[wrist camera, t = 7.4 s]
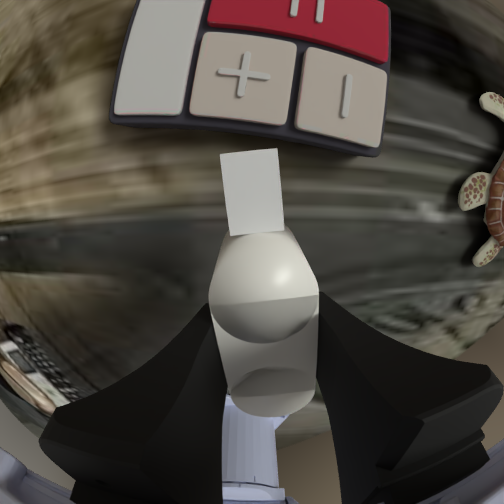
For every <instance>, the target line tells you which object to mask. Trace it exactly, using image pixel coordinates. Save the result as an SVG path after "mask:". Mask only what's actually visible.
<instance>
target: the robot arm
mask: <svg viewBox="0 0 504 504" xmlns="http://www.w3.org/2000/svg"><path fill="white" fill-rule="evenodd" d="M316 378H317V381H318V384H319V387H320V390H321V393H322V396H323V399H324V402H325V405H326V408H327V412H328V415H329V420H330V425H331V430H332V435H333V441H334V447H335V452H336V458H337V465H338V473H339V480H340V489H341V498H342V504H504V439H503V440H501V441H500V442H499V443H497V444H496V445H494V446H493V447H492V448H490V449H489V450H487V451H486V450H485V449H484V447H483V445H482V443H481V441H482V440H483V439H484V438H485V435H484V433H483V431H482V430H481V427H482V426H483V424H484V423H485V422H486V420H487V419H488V418H489V416H490V415H491V414H492V412H493V411H494V410H495V408H496V407H497V405H498V403H499V402H500V400H501V397H502V395H503V385H502V383H501V382H500V381H499V379H498V378H497V377H496V376H495V374H494V373H493V372H492V371H491V369H490V368H489V367H488V366H487V365H483V364H476V363H469V362H462V361H456V360H452V359H448V358H444V357H440V356H436V355H433V354H430V353H426V352H423V351H421V350H418V349H415V348H413V347H410V346H408V345H405V344H403V343H401V342H398V341H396V340H394V339H392V338H390V337H388V336H386V335H384V334H382V333H381V332H379V331H377V330H375V329H374V328H372V327H370V326H369V325H367V324H366V323H364V322H362V321H361V320H359V319H358V318H356V317H355V316H354V315H352V314H351V313H349V312H348V311H347V310H345V309H344V308H343V307H341V306H340V305H339V304H337V303H336V302H335V301H333V300H332V299H331V298H330V297H328V296H327V295H326V294H324V293H323V292H319V316H318V347H317V367H316ZM227 387H228V384H227V380H226V376H225V372H224V368H223V364H222V360H221V356H220V351H219V347H218V343H217V338H216V334H215V330H214V325H213V321H212V316H211V311H210V307H209V303H206V304H205V305H204V306H203V307H202V308H201V309H200V311H199V312H198V313H197V314H196V315H195V316H194V317H193V319H192V320H191V321H190V322H189V323H188V324H187V325H186V326H185V328H184V329H183V330H182V331H181V332H180V333H179V334H178V335H177V336H176V337H175V338H174V339H173V340H172V341H171V342H170V343H169V344H168V345H167V346H166V347H165V348H164V349H162V350H161V351H160V352H159V353H158V354H157V355H155V356H154V357H153V358H152V359H150V360H149V361H148V362H147V363H145V364H144V365H143V366H141V367H140V368H138V369H137V370H135V371H134V372H132V373H131V374H129V375H128V376H126V377H124V378H123V379H121V380H120V381H118V382H116V383H114V384H113V385H111V386H109V387H107V388H105V389H103V390H101V391H99V392H97V393H95V394H92V395H90V396H88V397H85V398H83V399H80V400H77V401H75V402H72V403H69V404H66V405H63V406H60V407H57V408H56V409H55V411H54V413H53V414H52V416H51V418H50V420H49V422H48V424H47V425H46V427H45V429H44V431H43V433H42V435H41V437H40V439H39V444H40V447H41V449H42V450H43V452H44V453H45V454H46V455H47V456H48V457H49V458H50V459H51V460H52V461H53V462H54V463H55V464H56V465H58V466H59V467H60V468H61V469H62V470H64V471H65V472H66V473H67V474H68V475H70V476H71V477H72V478H74V479H75V480H76V482H75V484H74V487H73V490H72V491H71V490H69V489H67V488H64V487H62V486H60V485H58V484H56V483H54V482H52V481H50V480H48V479H46V478H43V477H42V476H40V475H38V474H36V473H34V472H32V471H30V470H29V469H27V468H26V466H25V465H24V464H22V463H21V462H20V461H19V460H18V459H17V458H15V457H14V456H13V455H11V454H10V453H8V452H7V451H5V450H4V449H2V448H1V447H0V504H299V503H298V502H297V501H295V500H294V499H293V498H292V497H290V496H288V497H285V493H284V488H279V483H278V470H277V457H276V444H275V432H274V430H275V429H276V428H277V427H278V426H279V425H280V424H281V423H282V422H283V421H284V420H285V419H286V418H287V417H288V416H289V415H290V414H288V415H285V416H280V417H258V416H253V415H250V414H247V413H245V412H243V411H242V410H240V409H239V408H237V407H236V406H235V404H234V403H233V401H232V399H231V396H230V395H227Z"/></svg>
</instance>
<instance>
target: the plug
mask: <svg viewBox="0 0 504 504" xmlns="http://www.w3.org/2000/svg"><path fill="white" fill-rule="evenodd" d="M220 160H221V169H222V177H223V185H224V193H225V200H226V208H227V216H228V223H229V230H228V232H227V233H226V235H225V237H224V239H223V242H222V245H221V248H220V252H219V255H218V259H217V263H216V266H215V270H214V273H213V277H212V281H211V284H210V289H209V307H210V311H211V316H212V321H213V325H214V330H215V334H216V338H217V343H218V347H219V351H220V356H221V360H222V364H223V368H224V372H225V376H226V380H227V384H228V388H229V392H230V396H231V399H232V401H233V403H234V404H235V406H236V407H237V408H239V409H240V410H242V411H243V412H245V413H247V414H250V415H253V416H258V417H280V416H285V415H288V414H291V413H294V412H296V411H298V410H300V409H301V408H303V407H304V406H306V405H307V404H308V403H309V402H310V400H311V399H312V397H313V395H314V392H315V383H316V367H317V347H318V316H319V290H318V284H317V281H316V278H315V276H314V274H313V272H312V270H311V268H310V266H309V264H308V262H307V260H306V258H305V256H304V254H303V252H302V250H301V248H300V246H299V244H298V243H297V241H296V239H295V237H294V235H293V233H292V232H291V230H290V229H289V228H288V227H287V226H286V225H285V224H284V218H283V206H282V194H281V182H280V171H279V161H278V151H277V148H274V149H263V150H252V151H243V152H234V153H226V154H220Z"/></svg>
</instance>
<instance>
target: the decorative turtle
mask: <svg viewBox="0 0 504 504" xmlns="http://www.w3.org/2000/svg"><path fill="white" fill-rule="evenodd" d="M479 102H480V106H481V108H482V109H483V110H485V111H487V112H490V113H492V114H494V115H496V116H497V117H498V118H500V119H501V120H502V121H503V122H504V98H503V97H501V96H499V95H497V94H495V93H492V92H487V93H484V94H483V95H482V96H481V97H480V99H479ZM458 204H459V207H460V208H461V209H462V210H463V211H466V210H470V209H473V208H475V207H477V206H479V205H483V204H485V206H486V208H485V214H484V222H485V223H486V225H487V226H488V230H489V232H490V234H491V236H490V238H489V239H488V240H487V242H486V243H485V244H483V245H482V246H481V248H480V249H479V250H478V251H477V253H476V254H475V255H474V256H473V259H472V261H473V264H474V265H475V266H477V267H481V266H483V265H485V264H487V263H488V262H489V261H491V260H492V259H493V258H494V257H495V256H496V255H497V253H498V252H499V251H500V249H501V248H502V247H503V246H504V152H503V154H502V155H501V157H500V159H499V161H498V162H497V164H496V165H495V167H494V168H493V170H492V172H491V174H489V173H484V172H477V173H474V174H472V175H470V176H469V177H468V178H467V179H466V180H465V182H464V183H463V185H462V187H461V189H460V191H459V195H458Z"/></svg>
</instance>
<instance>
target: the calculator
mask: <svg viewBox="0 0 504 504" xmlns="http://www.w3.org/2000/svg"><path fill="white" fill-rule="evenodd" d="M390 53H391V13H390V9H389V7H388V6H387V5H385V4H384V3H382V2H379V1H377V0H137V1H136V4H135V7H134V10H133V13H132V16H131V19H130V22H129V25H128V28H127V32H126V35H125V39H124V42H123V46H122V50H121V54H120V58H119V63H118V67H117V72H116V76H115V81H114V87H113V92H112V98H111V104H110V111H109V120H110V122H111V123H113V124H117V125H123V126H129V127H136V128H174V129H197V130H209V131H220V132H229V133H238V134H246V135H253V136H260V137H267V138H273V139H279V140H285V141H291V142H296V143H301V144H306V145H311V146H316V147H321V148H325V149H330V150H334V151H339V152H343V153H347V154H351V155H355V156H364V157H377V156H379V154H380V152H381V147H382V141H383V134H384V126H385V118H386V109H387V100H388V88H389V74H390Z"/></svg>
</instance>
